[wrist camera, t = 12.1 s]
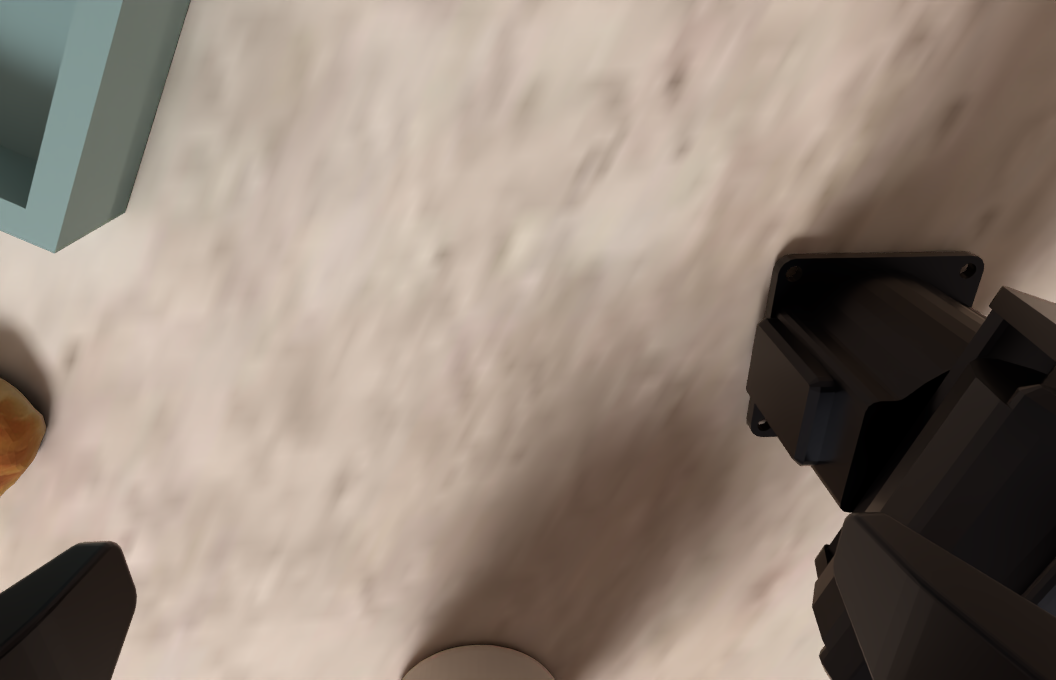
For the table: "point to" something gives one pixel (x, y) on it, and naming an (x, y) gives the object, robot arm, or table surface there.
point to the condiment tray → (77, 109)
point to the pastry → (17, 434)
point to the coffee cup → (479, 665)
